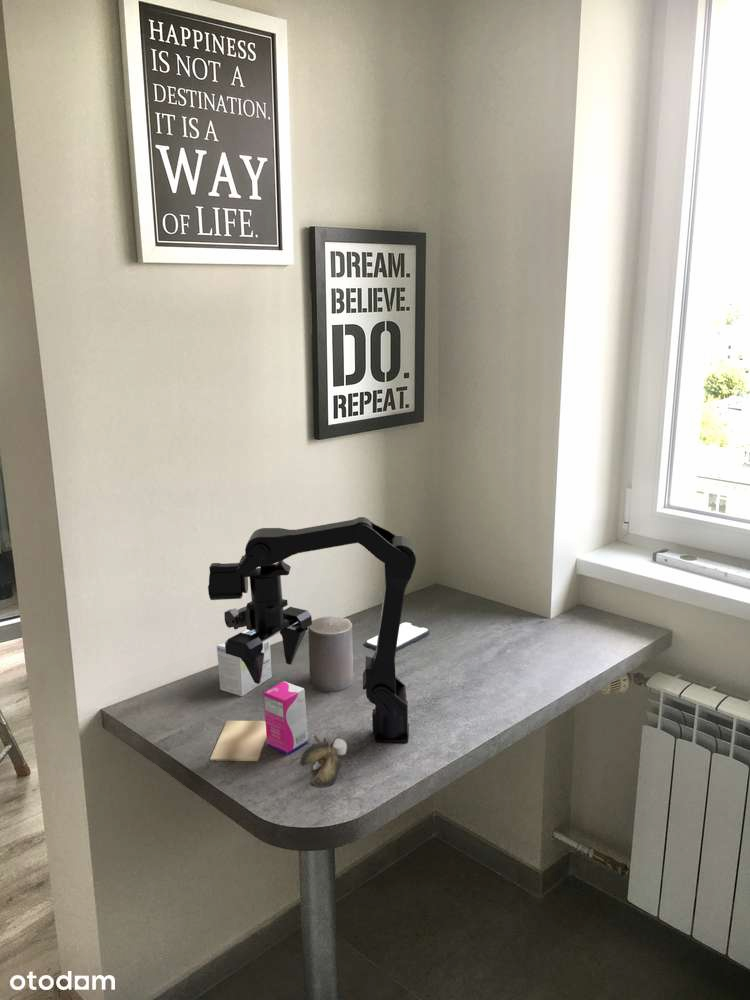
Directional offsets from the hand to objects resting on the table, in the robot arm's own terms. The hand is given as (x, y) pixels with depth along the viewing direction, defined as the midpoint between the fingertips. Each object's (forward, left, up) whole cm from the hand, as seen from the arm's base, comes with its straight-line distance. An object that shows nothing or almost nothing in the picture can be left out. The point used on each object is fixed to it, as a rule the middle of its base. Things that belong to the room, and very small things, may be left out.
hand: (273, 673), depth 160 cm
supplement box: (-2, +3, -14) cm, 14 cm away
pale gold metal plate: (+7, +2, -14) cm, 15 cm away
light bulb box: (+11, -22, -14) cm, 28 cm away
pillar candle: (-8, -23, -14) cm, 28 cm away
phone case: (-22, -46, -14) cm, 53 cm away
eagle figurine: (-10, +12, -14) cm, 21 cm away
